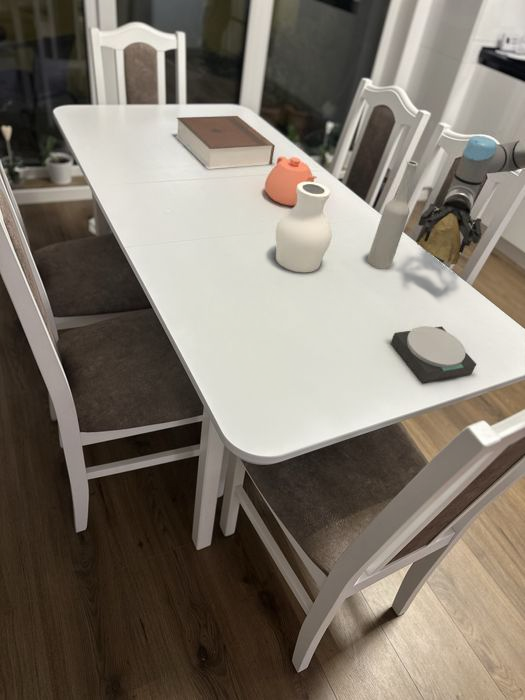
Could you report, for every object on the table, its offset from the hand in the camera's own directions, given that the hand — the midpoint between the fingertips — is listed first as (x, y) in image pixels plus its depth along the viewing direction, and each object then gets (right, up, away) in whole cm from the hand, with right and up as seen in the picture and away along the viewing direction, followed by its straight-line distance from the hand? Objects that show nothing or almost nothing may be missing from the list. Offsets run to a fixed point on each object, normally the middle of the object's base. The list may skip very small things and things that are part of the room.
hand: (444, 241), depth 128 cm
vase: (-34, -2, +14) cm, 37 cm away
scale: (-6, -28, -9) cm, 30 cm away
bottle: (-12, -2, +19) cm, 23 cm away
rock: (+1, -2, +8) cm, 8 cm away
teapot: (-35, +22, +41) cm, 58 cm away
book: (-58, +45, +63) cm, 97 cm away
